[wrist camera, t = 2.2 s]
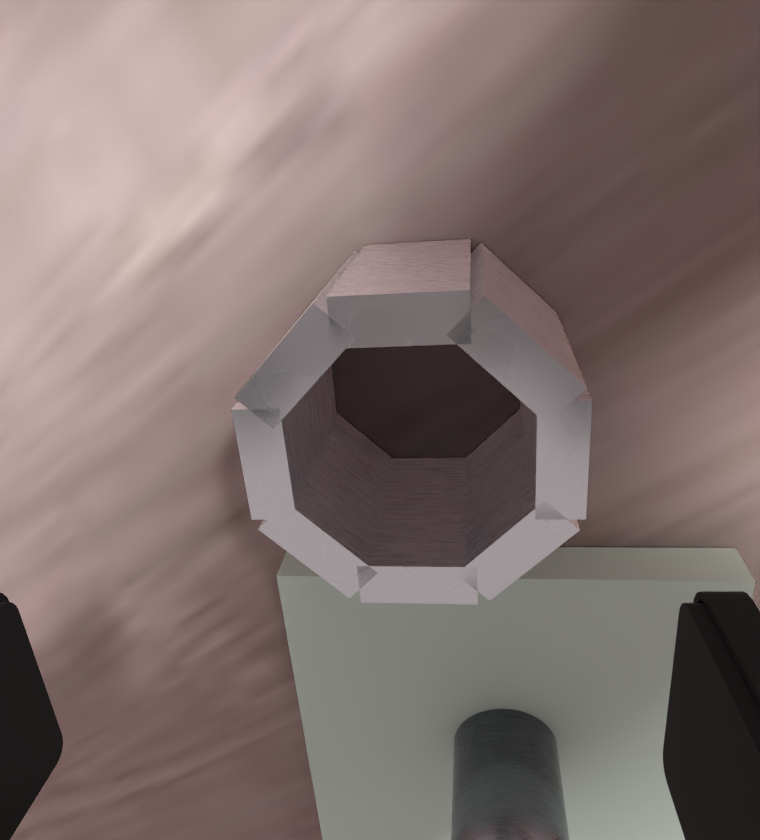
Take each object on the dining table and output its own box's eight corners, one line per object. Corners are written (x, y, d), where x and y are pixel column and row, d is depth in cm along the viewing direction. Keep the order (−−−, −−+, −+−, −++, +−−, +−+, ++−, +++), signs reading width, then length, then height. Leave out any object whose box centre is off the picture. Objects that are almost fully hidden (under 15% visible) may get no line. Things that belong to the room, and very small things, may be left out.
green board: (288, 545, 21) (276, 575, 20) (735, 547, 19) (755, 581, 18) (333, 824, 26) (326, 862, 25) (686, 847, 25) (699, 890, 23)
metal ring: (279, 250, 17) (211, 302, 13) (563, 233, 16) (598, 283, 12) (312, 489, 20) (266, 600, 16) (555, 487, 19) (581, 606, 15)
